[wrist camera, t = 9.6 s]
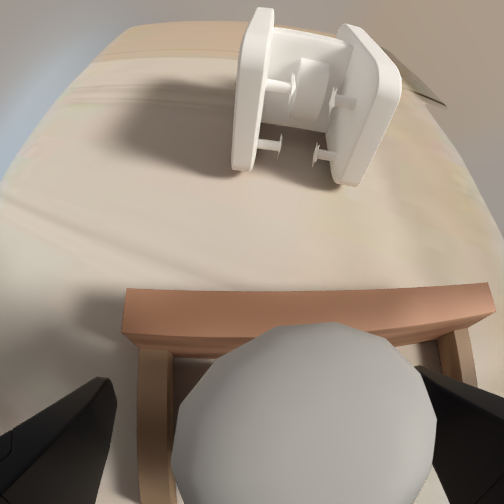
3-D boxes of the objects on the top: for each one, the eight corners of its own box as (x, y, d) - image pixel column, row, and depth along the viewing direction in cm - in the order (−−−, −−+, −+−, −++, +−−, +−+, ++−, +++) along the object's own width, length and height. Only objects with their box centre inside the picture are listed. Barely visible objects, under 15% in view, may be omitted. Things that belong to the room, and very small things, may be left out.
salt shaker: (196, 472, 12) (132, 615, 1) (189, 375, 15) (100, 259, 4) (304, 463, 13) (486, 529, 2) (294, 369, 16) (448, 250, 5)
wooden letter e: (462, 455, 12) (512, 452, 8) (151, 509, 10) (125, 540, 6) (444, 311, 18) (487, 282, 14) (151, 322, 16) (126, 288, 12)
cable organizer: (246, 94, 30) (256, 2, 20) (336, 109, 30) (362, 23, 21) (227, 185, 22) (236, 40, 12) (358, 204, 23) (419, 83, 13)
